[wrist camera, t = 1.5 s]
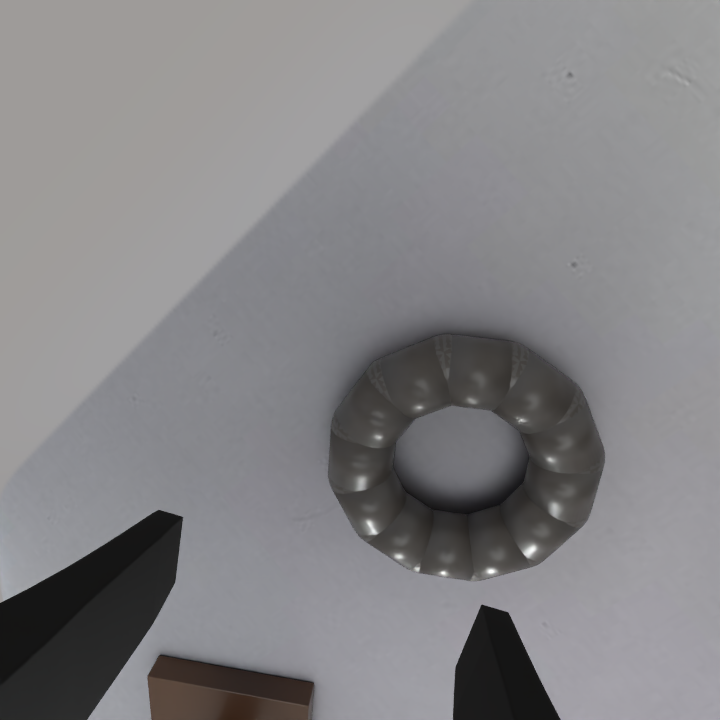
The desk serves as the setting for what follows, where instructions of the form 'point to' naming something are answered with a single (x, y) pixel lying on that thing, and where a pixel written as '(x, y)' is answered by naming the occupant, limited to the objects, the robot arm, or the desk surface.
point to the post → (224, 693)
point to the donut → (480, 391)
